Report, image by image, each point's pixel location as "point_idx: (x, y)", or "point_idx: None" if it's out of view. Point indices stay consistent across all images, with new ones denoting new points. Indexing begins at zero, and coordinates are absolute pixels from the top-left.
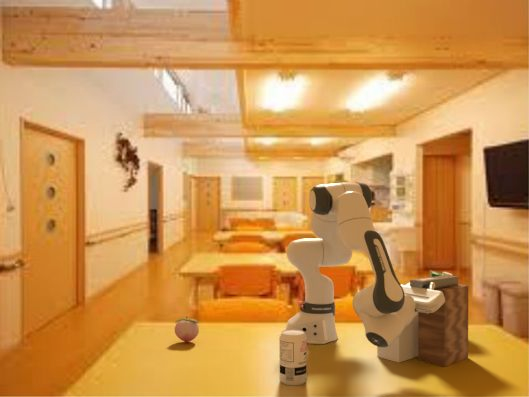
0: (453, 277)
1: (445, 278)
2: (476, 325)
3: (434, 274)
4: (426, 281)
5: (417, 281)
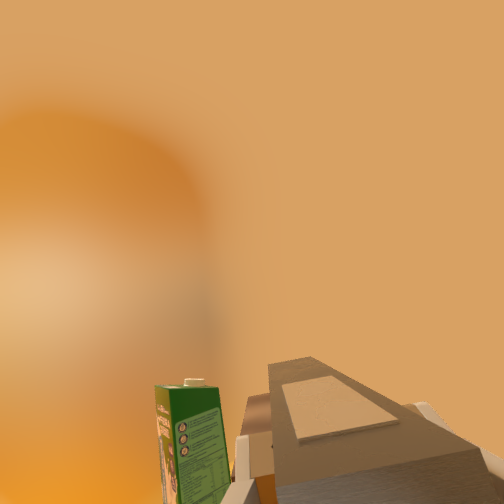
0: (316, 360)
1: (329, 367)
2: (231, 466)
3: (174, 389)
4: (414, 417)
5: (407, 470)
